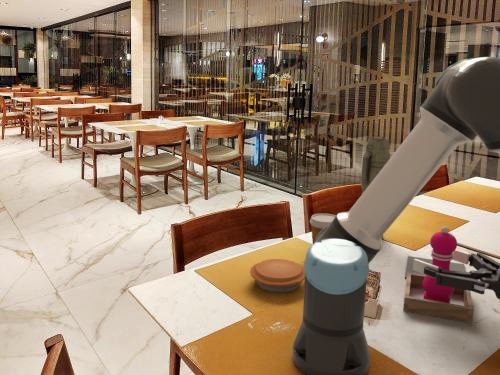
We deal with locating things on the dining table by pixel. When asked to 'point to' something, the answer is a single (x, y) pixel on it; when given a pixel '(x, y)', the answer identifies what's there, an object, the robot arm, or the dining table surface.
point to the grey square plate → (411, 259)
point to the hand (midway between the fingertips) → (429, 257)
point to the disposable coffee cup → (320, 223)
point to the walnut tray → (437, 302)
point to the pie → (278, 275)
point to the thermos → (374, 160)
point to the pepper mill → (440, 265)
